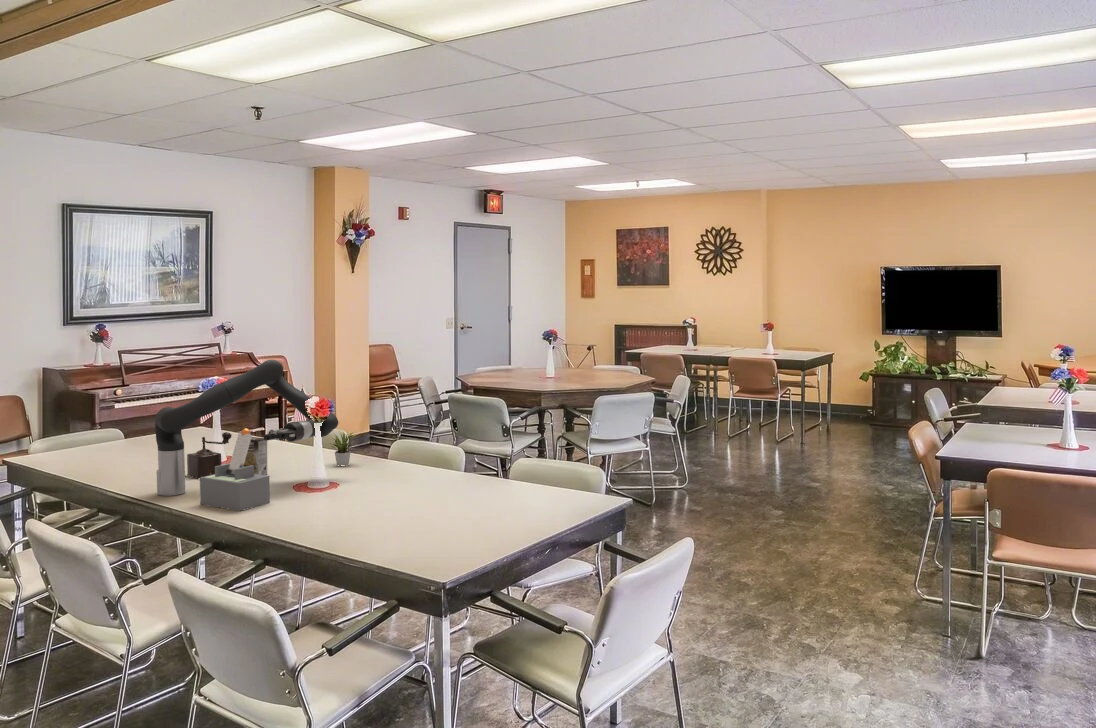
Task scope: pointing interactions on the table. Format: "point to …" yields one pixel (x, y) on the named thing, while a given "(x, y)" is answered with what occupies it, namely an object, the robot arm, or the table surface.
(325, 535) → the table surface
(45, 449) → the table surface
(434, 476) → the table surface
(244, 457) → the lever
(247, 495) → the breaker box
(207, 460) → the manual coffee grinder
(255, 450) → the coffee box
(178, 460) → the robot arm
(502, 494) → the table surface
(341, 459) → the house plant
